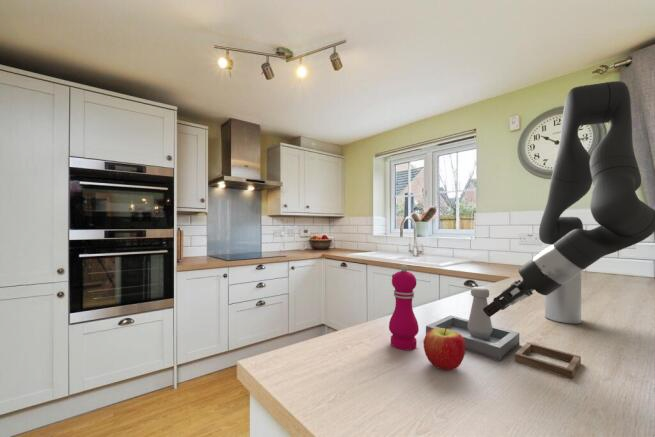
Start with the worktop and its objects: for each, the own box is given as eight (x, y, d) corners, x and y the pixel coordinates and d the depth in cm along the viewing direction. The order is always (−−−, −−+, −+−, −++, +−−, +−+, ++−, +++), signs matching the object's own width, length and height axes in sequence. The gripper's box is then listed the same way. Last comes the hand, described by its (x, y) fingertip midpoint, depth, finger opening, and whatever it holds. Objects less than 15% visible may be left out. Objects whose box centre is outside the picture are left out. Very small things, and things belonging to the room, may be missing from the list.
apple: (446, 381, 56) (447, 329, 57) (414, 362, 64) (415, 316, 64) (474, 371, 60) (474, 323, 60) (441, 355, 68) (441, 311, 68)
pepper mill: (420, 342, 75) (421, 264, 75) (416, 353, 68) (416, 268, 69) (392, 337, 78) (392, 262, 78) (385, 347, 71) (386, 265, 72)
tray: (450, 325, 88) (450, 315, 88) (519, 344, 74) (519, 332, 74) (425, 337, 78) (425, 325, 78) (500, 361, 65) (500, 347, 65)
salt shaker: (495, 342, 73) (495, 290, 73) (471, 340, 74) (471, 289, 75) (487, 333, 79) (488, 285, 79) (465, 332, 80) (465, 284, 80)
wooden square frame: (527, 348, 72) (527, 342, 72) (580, 363, 65) (580, 356, 65) (514, 360, 65) (514, 353, 65) (572, 378, 58) (572, 371, 58)
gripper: (543, 254, 71) (492, 293, 79) (525, 258, 61) (469, 301, 70) (571, 279, 67) (514, 317, 75) (557, 288, 57) (493, 330, 66)
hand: (492, 309), depth 73 cm, fingers open, 8 cm apart
